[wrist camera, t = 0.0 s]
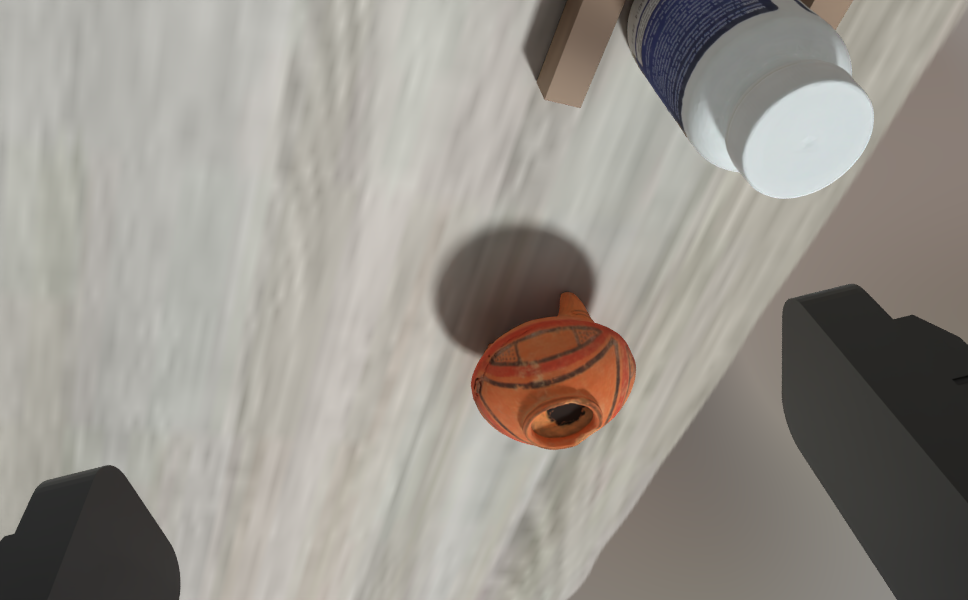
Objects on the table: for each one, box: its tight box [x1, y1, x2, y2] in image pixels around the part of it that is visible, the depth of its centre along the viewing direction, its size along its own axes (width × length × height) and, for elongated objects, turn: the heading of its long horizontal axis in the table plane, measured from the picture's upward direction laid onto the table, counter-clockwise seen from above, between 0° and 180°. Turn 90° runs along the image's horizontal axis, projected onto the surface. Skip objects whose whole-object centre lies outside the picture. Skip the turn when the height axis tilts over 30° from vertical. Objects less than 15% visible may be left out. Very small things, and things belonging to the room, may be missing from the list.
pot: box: [471, 292, 636, 450], centre depth 38 cm, size 8×8×7 cm
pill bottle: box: [627, 0, 874, 199], centre depth 27 cm, size 5×5×10 cm
